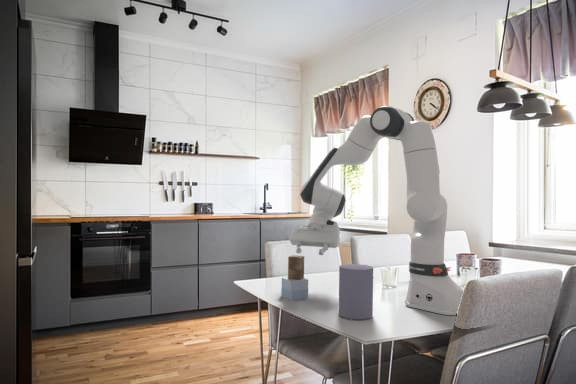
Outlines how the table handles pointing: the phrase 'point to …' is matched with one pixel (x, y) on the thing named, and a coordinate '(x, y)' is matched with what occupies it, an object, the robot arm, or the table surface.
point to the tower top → (294, 284)
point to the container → (355, 291)
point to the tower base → (294, 294)
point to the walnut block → (295, 267)
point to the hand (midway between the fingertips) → (309, 253)
